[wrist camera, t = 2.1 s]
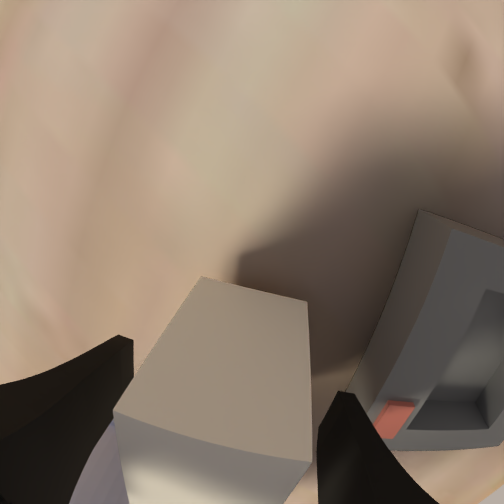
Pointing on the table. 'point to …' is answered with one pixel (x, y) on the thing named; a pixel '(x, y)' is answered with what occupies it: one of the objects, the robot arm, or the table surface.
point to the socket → (439, 343)
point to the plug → (220, 402)
